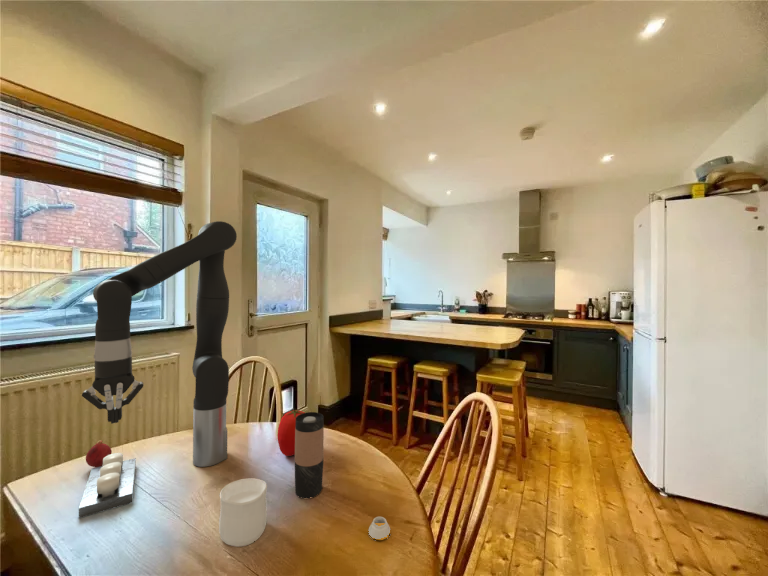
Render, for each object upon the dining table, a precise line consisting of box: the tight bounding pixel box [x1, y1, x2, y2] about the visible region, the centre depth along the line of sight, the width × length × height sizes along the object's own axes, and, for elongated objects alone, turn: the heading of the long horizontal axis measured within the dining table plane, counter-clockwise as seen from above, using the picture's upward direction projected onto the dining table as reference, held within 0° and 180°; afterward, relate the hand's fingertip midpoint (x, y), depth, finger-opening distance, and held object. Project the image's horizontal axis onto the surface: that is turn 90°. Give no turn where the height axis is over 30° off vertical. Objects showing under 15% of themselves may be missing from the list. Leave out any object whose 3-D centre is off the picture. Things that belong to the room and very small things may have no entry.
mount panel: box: [78, 457, 137, 519], centre depth 88 cm, size 10×20×2 cm, turn 35°
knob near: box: [97, 473, 120, 497], centre depth 83 cm, size 4×4×6 cm
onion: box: [85, 439, 113, 468], centre depth 98 cm, size 6×6×8 cm
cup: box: [218, 477, 268, 548], centre depth 74 cm, size 10×10×10 cm
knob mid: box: [100, 462, 121, 477], centre depth 88 cm, size 4×4×6 cm
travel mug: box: [294, 411, 325, 499], centre depth 89 cm, size 8×8×20 cm
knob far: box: [102, 452, 124, 466], centre depth 93 cm, size 4×4×6 cm
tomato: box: [276, 408, 306, 457], centre depth 108 cm, size 13×11×14 cm
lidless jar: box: [368, 516, 391, 539], centre depth 74 cm, size 5×3×5 cm
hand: (114, 422), depth 86 cm, fingers closed
